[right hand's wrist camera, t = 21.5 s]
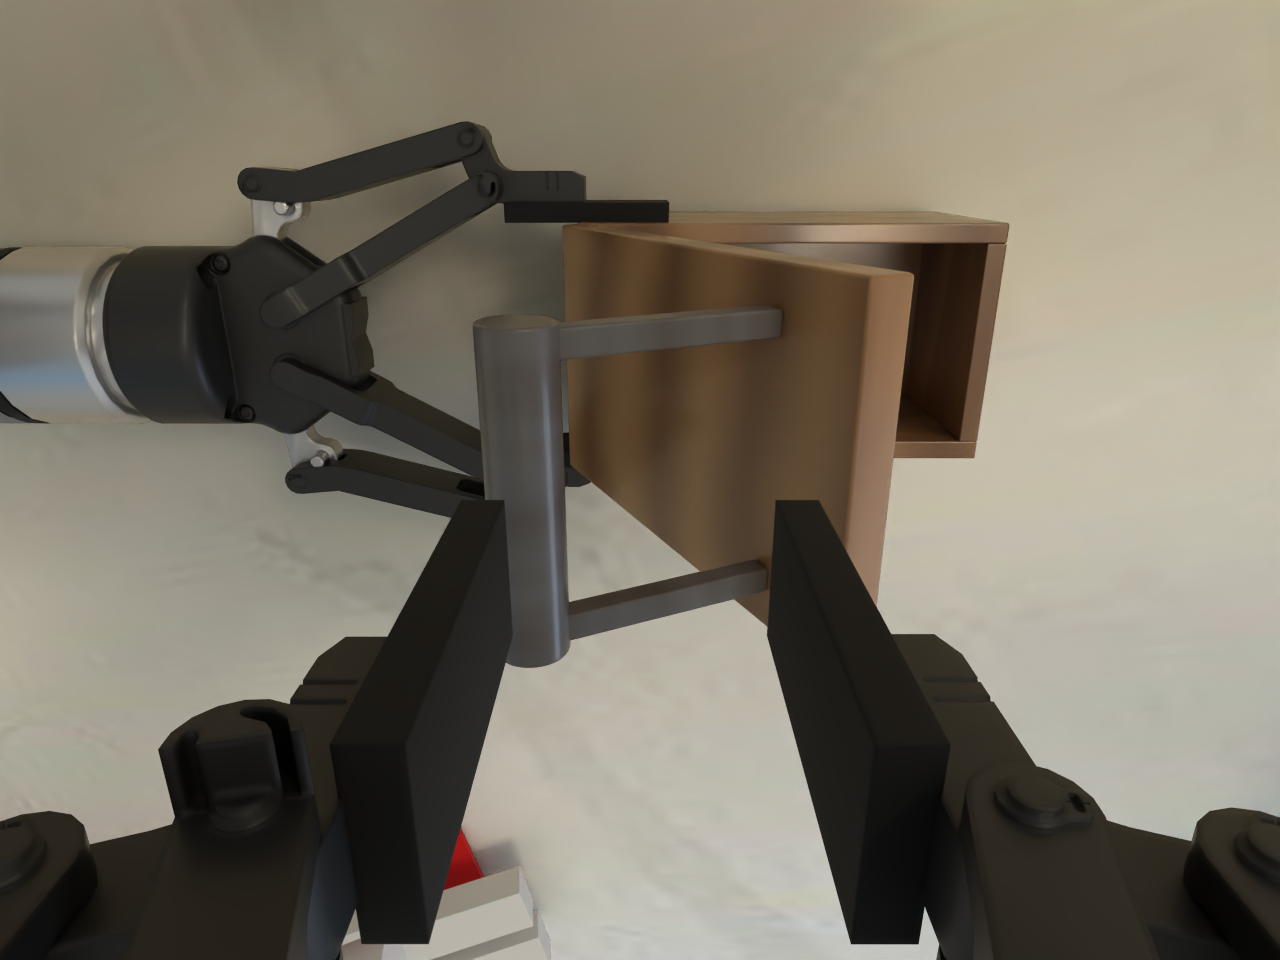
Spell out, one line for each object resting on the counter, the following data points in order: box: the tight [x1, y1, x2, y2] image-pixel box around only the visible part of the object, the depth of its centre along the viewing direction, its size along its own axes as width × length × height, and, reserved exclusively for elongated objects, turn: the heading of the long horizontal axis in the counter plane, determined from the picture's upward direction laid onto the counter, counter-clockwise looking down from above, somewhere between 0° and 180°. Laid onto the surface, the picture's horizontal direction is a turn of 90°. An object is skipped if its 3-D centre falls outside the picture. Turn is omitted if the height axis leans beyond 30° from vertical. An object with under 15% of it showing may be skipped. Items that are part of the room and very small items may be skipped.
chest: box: [579, 212, 1009, 458], centre depth 38 cm, size 17×10×9 cm, turn 90°
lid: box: [473, 224, 914, 668], centre depth 24 cm, size 17×10×8 cm
